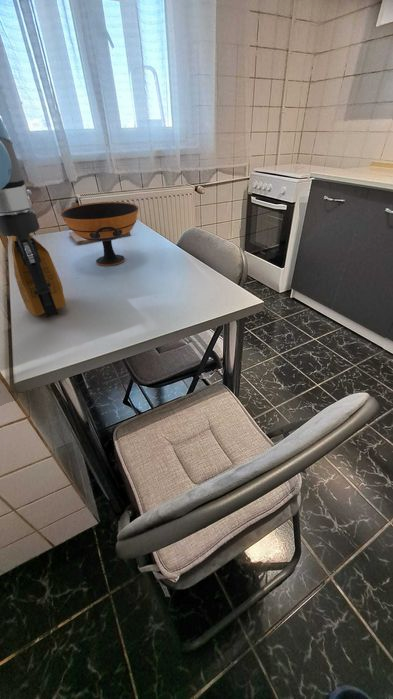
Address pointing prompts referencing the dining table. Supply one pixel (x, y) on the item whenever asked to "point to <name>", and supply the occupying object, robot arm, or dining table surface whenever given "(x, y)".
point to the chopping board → (81, 240)
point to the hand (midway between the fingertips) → (52, 314)
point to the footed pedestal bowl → (102, 225)
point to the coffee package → (27, 283)
